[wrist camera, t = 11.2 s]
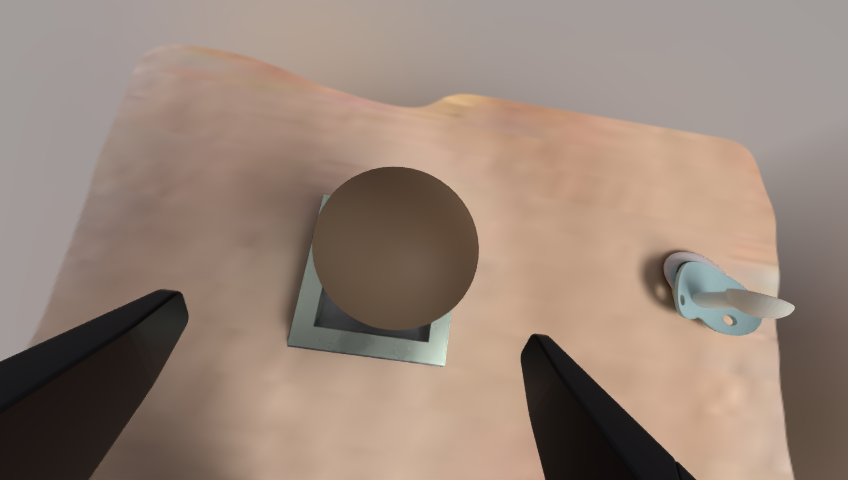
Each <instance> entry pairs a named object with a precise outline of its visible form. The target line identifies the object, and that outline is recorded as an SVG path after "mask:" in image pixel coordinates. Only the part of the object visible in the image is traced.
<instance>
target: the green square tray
mask: <svg viewBox="0 0 848 480" xmlns="http://www.w3.org/2000/svg"><path fill="white" fill-rule="evenodd" d="M330 196H331V195H326V194H324V195H323V199H322V203H321V207H320V211H319V214H320V212H321V210H322V207H323V206H324V204H325V203H326V201H327V200H328V198H329V197H330ZM318 216H319V215H318ZM451 311H452V310H451ZM451 311H450V312H448V313H447V314H445V315H444V316H443V317H441V318H440V319H438V320H436V321H434V322H432V323H430V324H427V325H424V326H421V327H418V328H413V329H408V330H387V329H381V328H376V327H372V326H369V325H367V324H364V323H361V322H360V321H358V320H356V319H354V318H352V317H351V316H349V315H348V314H346V313H345V312H344V311H342V310H341V309H340V308H339V307H338V306H337V305H336V304H335V303H334V302H333V301H332V300H331V298H330V297H329V296H328V295H327V293H326V292H325V290H324V288H323V286H322V285H321V283H320V281H319V278H318V276H317V273H316V270H315V266H314V262H313V254H312V244H311V248H310V252H309V256H308V261H307V265H306V269H305V273H304V277H303V281H302V285H301V289H300V294H299V298H298V302H297V306H296V310H295V314H294V318H293V323H292V327H291V331H290V335H289V339H288V343H287V345H288V347H296V348H303V349H311V350H319V351H326V352H334V353H341V354H349V355H357V356H364V357H372V358H379V359H387V360H395V361H402V362H410V363H417V364H425V365H433V366H440V367H443V366H445V360H446V352H447V344H448V336H449V328H450V320H451Z"/></svg>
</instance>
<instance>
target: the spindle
mask: <svg viewBox="0 0 848 480" xmlns="http://www.w3.org/2000/svg"><path fill="white" fill-rule="evenodd" d="M312 254H313V262H314V266H315V270H316V273H317V276H318V278H319V281H320V283H321V285H322V286H323V288H324V290H325V292H326V293H327V295H328V296H329V297H330V298H331V300H332V301H333V302H334V303H335V304H336V305H337V306H338V307H339V308H340V309H341V310H342V311H344V312H345V313H346V314H348V315H349V316H351V317H352V318H354V319H356V320H358V321H360V322H361V323H364V324H367V325H369V326H372V327H376V328H381V329H387V330H408V329H413V328H418V327H421V326H424V325H427V324H430V323H432V322H434V321H436V320H438V319H440V318H441V317H443V316H444V315H445V314H447V313H448V312H450V311H451V310H452V309H453V308H454V307H455V306H456V305H457V304H458V303H459V302H460V300H461V299H462V298H463V297H464V295H465V294H466V292H467V291H468V289H469V287H470V285H471V283H472V281H473V278H474V275H475V272H476V269H477V263H478V254H479V245H478V236H477V232H476V227H475V224H474V222H473V219H472V217H471V215H470V213H469V211H468V209H467V207H466V206H465V204H464V203H463V201H462V200H461V199H460V198H459V196H458V195H457V194H456V193H455V192H454V191H453V190H452V189H451V188H450V187H449V186H447V185H446V184H445V183H443V182H442V181H441V180H439V179H437V178H435V177H433V176H432V175H429V174H427V173H425V172H422V171H419V170H415V169H411V168H405V167H383V168H377V169H372V170H369V171H366V172H363V173H361V174H359V175H357V176H355V177H353V178H351V179H350V180H348V181H347V182H345V183H344V184H342V185H341V186H340V187H339V188H338V189H337V190H336V191H335V192H334V193H333V194H332V195H331V196H330V197H329V198H328V200H327V201H326V203H325V204H324V206H323V207H322V210H321V212H320V214H319V216H318V218H317V221H316V224H315V227H314V233H313V238H312Z"/></svg>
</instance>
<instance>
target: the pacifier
mask: <svg viewBox="0 0 848 480" xmlns="http://www.w3.org/2000/svg"><path fill="white" fill-rule="evenodd" d="M683 262H688V263H685V264H683V265H682V266H681V267H680V269H679V271H678V273H677V268H678V266H679V265H680V264H681V263H683ZM664 274H665V277H666V280H667V281H668V283H669V285H670V286H671V287H672V295H673V298H674V302H675V307H676V310H677V312H678V313H679V315H680V316H682V317H684V318H688V319H695V318H699V319H700V320H701V321H702V322H703V323H704V324H705V325H706V326H707V327H709V328H711V329H712V330H714V331H717V332H719V333H723V334H728V335H734V336H740V335H746V334H749V333H751V332H753V331H755V330H756V329H757V328H758V327H759V325H760V324H761V320H762V318H765V319H775V318H781V317H785V316H787V315H789V314H790V313H791V312H792V311H793V310H794V308H795V307H794V305H792V304H790V303H788V302H786V301H783V300H781V299H778V298H775V297H772V296H768V295H765V294H761V293H757V292H752V291H748V290H747V289H746V288H745V287H744V286H742V285H741V284H740V283H739V282H737V281H736V280H734V279H733V278H731V277H729V276H728V275H726V274H725V272H724V271H723V270H722V269H721V268H720V267H719V266H718V265H717V264H715V263H714V262H713V261H711V260H710V259H708V258H706V257H704V256H702V255H699V254H696V253H691V252H676V253H674V254H672V255H670V256H669V257H668V258H667V259H666V260H665V263H664ZM724 315H728V316H729V317H731V319H732V320H733V324H732V325H728V324H726V323H725V322H724V321H723V316H724Z"/></svg>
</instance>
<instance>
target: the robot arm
mask: <svg viewBox="0 0 848 480" xmlns="http://www.w3.org/2000/svg"><path fill="white" fill-rule="evenodd" d="M187 322H188V311H187V308H186V304H185V301H184V297H183V294H182V293H181V292H179V291H175V290H166V289H160V290H157V291H155V292H152V293H150V294H148V295H146V296H144V297H141V298H139V299H137V300H135V301H133V302H130V303H128V304H126V305H124V306H122V307H119V308H117V309H115V310H113V311H111V312H108V313H106V314H104V315H102V316H100V317H97V318H95V319H93V320H91V321H89V322H86V323H84V324H82V325H80V326H78V327H75V328H73V329H71V330H69V331H67V332H64V333H62V334H60V335H58V336H56V337H53V338H51V339H49V340H47V341H45V342H42V343H40V344H38V345H36V346H34V347H31V348H29V349H27V350H25V351H22V352H20V353H18V354H16V355H14V356H12V357H9V358H7V359H5V360H3V361H1V362H0V480H89V478H90V477H91V476H92V474H93V473H94V471H95V470H96V468H97V467H98V465H99V464H100V462H101V461H102V460H103V458H104V457H105V455H106V454H107V452H108V451H109V449H110V448H111V446H112V445H113V443H114V442H115V441H116V439H117V438H118V436H119V435H120V433H121V432H122V430H123V429H124V427H125V426H126V425H127V423H128V422H129V420H130V419H131V417H132V416H133V414H134V413H135V411H136V410H137V408H138V407H139V406H140V404H141V403H142V401H143V400H144V398H145V397H146V395H147V394H148V392H149V391H150V389H151V388H152V386H153V385H154V383H155V381H156V379H157V378H158V376H159V374H160V373H161V371H162V369H163V367H164V365H165V363H166V362H167V360H168V358H169V356H170V354H171V352H172V351H173V349H174V347H175V345H176V343H177V341H178V340H179V338H180V336H181V334H182V332H183V331H184V329H185V327H186V325H187ZM521 366H522V372H523V379H524V386H525V392H526V399H527V405H528V411H529V417H530V421H531V425H532V429H533V433H534V437H535V441H536V445H537V449H538V453H539V457H540V460H541V464H542V468H543V472H544V476H545V480H696V479H695V478H694V477H693V476H692V475H691V474H690V473H689V472H688V471H687V470H686V469H685V468H684V467H683V466H682V465H681V464H680V463H679V462H677V461H675V459H674V458H673V457H672V456H671V455H670V454H669V453H668V452H667V451H666V450H665V449H664V448H663V447H662V446H661V445H660V444H659V443H658V442H657V441H656V440H655V439H654V438H653V437H652V436H651V435H650V434H649V433H648V432H647V431H646V430H645V429H644V428H643V427H642V426H640V425H639V424H638V423H637V422H636V421H635V420H634V419H633V418H632V417H631V416H630V415H629V414H628V413H627V412H626V411H625V410H624V409H623V408H622V407H621V406H620V405H619V404H618V403H617V402H616V401H615V400H614V399H613V398H612V397H611V396H610V395H609V394H608V393H607V392H606V391H605V390H604V389H602V388H601V387H600V386H599V385H598V384H597V383H596V382H595V381H594V380H593V379H592V378H591V377H590V376H589V375H588V374H587V373H586V372H585V371H584V370H583V369H582V368H581V367H580V366H579V365H578V364H577V363H576V362H575V361H574V360H573V359H572V358H571V357H570V356H569V355H568V354H567V353H566V352H564V351H563V350H562V349H561V348H560V347H559V346H558V345H557V344H556V343H555V342H554V341H553V340H552V339H551V338H550V337H549V336H547V335H542V334H532V335H531V336H530V338H529V340H528V342H527V343H526V345H525V347H524V349H523V351H522V353H521Z"/></svg>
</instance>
